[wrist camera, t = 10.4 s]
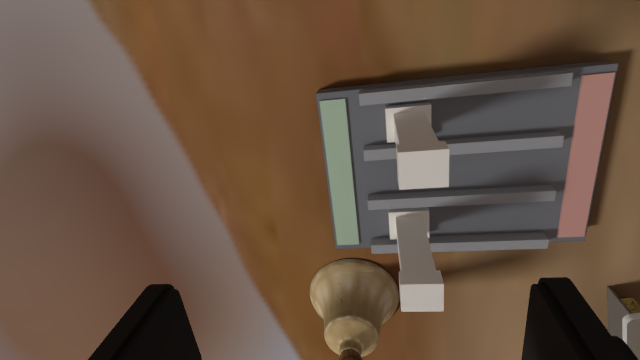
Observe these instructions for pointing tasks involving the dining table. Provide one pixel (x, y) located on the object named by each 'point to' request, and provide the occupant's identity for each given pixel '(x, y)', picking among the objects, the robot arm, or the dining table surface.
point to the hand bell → (353, 305)
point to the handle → (416, 261)
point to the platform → (624, 320)
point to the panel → (473, 157)
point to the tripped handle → (417, 147)
